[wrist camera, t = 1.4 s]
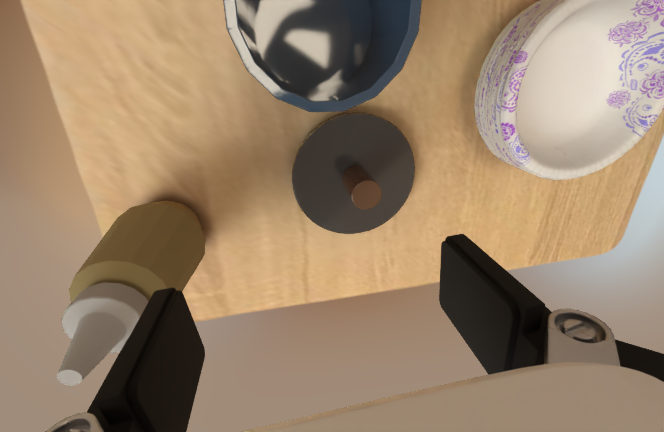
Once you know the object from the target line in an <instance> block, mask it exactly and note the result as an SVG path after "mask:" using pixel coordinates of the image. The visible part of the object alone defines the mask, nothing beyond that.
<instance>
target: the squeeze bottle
mask: <svg viewBox="0 0 664 432" xmlns="http://www.w3.org/2000/svg"><path fill="white" fill-rule="evenodd" d="M204 254H205V238H204V234H203V231H202V227H201V224H200V222H199V219H198V217H197V215H196V214H195V213H194V212H193V211H192V210H191V209H190V208H189V207H187V206H185V205H183V204H181V203H179V202H175V201H166V200H164V201H158V202H153V203H148V204H144V205H140V206H135V207H131V208H130V209H129V210H127V211H126V212H125V213H123V214H122V215H121V216H119V217H118V218H117V219H116V221H115V222H114V224H113V225H112V226H111V228H110V229H109V230H108V232H107V233H106V234H105V236H104V237H103V239H102V240H101V241H100V243H99V244H98V245H97V247H96V248H95V249H94V251H93V252H92V253H91V255H90V256H89V257H88V259H87V260H86V262H85V263H84V264H83V266H82V267H81V268H80V270H79V271H78V272H77V274H76V275H75V277H74V279H73V282H72V284H71V286H70V288H69V293H70V300H71V304H70V305H69V306H68V307H67V308H66V310H65V313H64V315H63V317H62V324H63V330H64V332H65V333H66V334H67V335H68V337H69V338H70V339H71V343H70V345H69V348H68V350H67V353H66V355H65V358H64V360H63V363H62V365H61V367H60V369H59V372H58V374H57V379H58V380H59V381H60V382H61V383H63V384H66V385H76V384H79V383H80V382H81V381H82V380H83V379H84V378H85V377H86V376H87V375H88V374H89V373H90V372H91V371H92V370H93V369H94V368H95V366H97V365H98V364H99V363H100V361H101V360H102V359H103V358H104V357H105V356H106V355H107V354H108V353H116V352H120V351H121V350H122V348H123V346H124V344H125V342H126V341H127V339H128V338H129V336H130V335H131V333H132V331H133V329H134V327H135V325H136V324H137V322H138V320H139V318H140V316H141V315H142V313H143V311H144V309H145V307H146V306H147V304H148V302H149V300H150V298H151V296H152V295H153V293H154V292H155V291H156V290H161V289H167V288H172V287H173V288H175V289H176V290H177V291H179V290H180V291H183V289H184V288H185V286H186V284H187V283H188V281H189V279H190V278H191V276H192V275H193V273H194V271H195V270H196V268H197V266H198V265H199V263H200V261H201V260H202V258H203V256H204Z"/></svg>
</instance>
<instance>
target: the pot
mask: <svg viewBox="0 0 664 432" xmlns="http://www.w3.org/2000/svg"><path fill="white" fill-rule="evenodd" d="M421 1H422V0H223V2H224V10H225V18H226V26H227V29H228V33H229V35H230V37H231V39H232V41H233V43H234V45H235V47H236V49H237V51H238V53H239V55H240V57H241V59H242V61H243V63H244V65H245V67H246V69H247V71H248V72H249V73H250V74H251V75H252V76H254V77H255V78H256V79H257V80H258V81H259V82H260V83H261V84H262V85H263V86H264V87H265V88H266V89H267V90H268V91H269V92H270V93H271V94H272V95H273V96H274V97H275V98H277V99H279V100H282V101H284V102H287V103H289V104H292V105H294V106H296V107H299V108H301V109H304V110H306V111H309V112H334V111H346V110H348V109H350V108H352V107H355V106H357V105H359V104H361V103H363V102H366V101H368V100H370V99H372V98H374V97H376V96H377V95H378V94H379V93H380V92H381V91H382V90H383V89H384V88H385V87H386V86H387V85H388V84H389V83H390V81H391V80H392V79H393V78H394V77H395V76H396V75H397V74H398V73H399V72H400V71H401V69H402V68H403V66H404V64H405V61H406V59H407V57H408V55H409V52H410V50H411V48H412V46H413V43H414V41H415V39H416V37H417V34H418V31H419V21H420V11H421Z"/></svg>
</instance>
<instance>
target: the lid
mask: <svg viewBox="0 0 664 432" xmlns="http://www.w3.org/2000/svg"><path fill="white" fill-rule="evenodd" d="M414 172H415V165H414V158H413V153H412V150H411V147H410V145H409V143H408V141H407V139H406V138H405V137H404V135H403V134H402V133H401V131H399V130H398V129H397V128H396V127H395V126H394V125H393V124H391V123H390V122H388V121H386V120H384V119H383V118H381V117H378V116H375V115H372V114H366V113H347V114H343V115H339V116H336V117H333V118H331V119H329V120H327V121H325V122H323V123H322V124H320V125H319V126H318V127H316V128H315V129H314V130H313V131H312V132H311V133H310V134H309V135H308V136H307V137H306V139H305V140H304V141H303V143H302V144H301V146H300V148H299V150H298V152H297V154H296V157H295V160H294V164H293V170H292V184H293V190H294V194H295V197H296V200H297V202H298V204H299V206H300V208H301V209H302V211H303V212H304V213H305V214H306V216H307V217H308V218H309V219H310V220H312V221H313V222H314V223H316V224H317V225H319V226H320V227H322V228H324V229H327V230H329V231H333V232H337V233H344V234H354V233H361V232H365V231H369V230H371V229H374V228H376V227H378V226H380V225H382V224H383V223H385V222H386V221H388V220H389V219H390V218H392V217H393V216H394V215H395V214H396V213H397V212H398V211H399V210H400V208H401V207H402V206H403V204H404V203H405V201H406V199H407V198H408V195H409V193H410V191H411V188H412V185H413V180H414Z"/></svg>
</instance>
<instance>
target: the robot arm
mask: <svg viewBox="0 0 664 432" xmlns="http://www.w3.org/2000/svg"><path fill="white" fill-rule="evenodd" d="M439 300H440V305H441V307H442V309H443V310H444V312H445V313H446V314H447V316H448V317H449V319H450V320H451V322H452V323H453V324H454V326H455V327H456V329H457V330H458V331H459V333H460V334H461V336H462V337H463V339H464V340H465V342H466V343H467V344H468V346H469V347H470V349H471V350H472V351H473V353H474V354H475V356H476V357H477V359H478V360H479V361H480V363H481V364H482V366H483V367H484V369H485V370H486V371H487V373H488V374H489V375H486V376H481V377H476V378H471V379H467V380H463V381H458V382H454V383H449V384H445V385H440V386H436V387H431V388H427V389H422V390H418V391H414V392H409V393H405V394H401V395H396V396H392V397H388V398H383V399H379V400H374V401H370V402H366V403H362V404H357V405H353V406H348V407H344V408H340V409H336V410H331V411H328V412H323V413H319V414H314V415H310V416H306V417H302V418H297V419H293V420H289V421H285V422H280V423H277V424H272V425H268V426H264V427H260V428H255V429H251V430H247V431H243V432H664V354H662V353H659V352H655V351H652V350H649V349H645V348H642V347H638V346H635V345H632V344H628V343H625V342H622V341H618V340H615V339H614V335H613V333H612V331H611V329H610V328H609V327H608V326H607V325H606V324H605V323H604V322H602V321H601V320H600V319H598V318H597V317H595V316H593V315H590V314H588V313H586V312H582V311H579V310H573V309H559V310H555V311H553V312H551V311H550V310H549V309H548V308H546V307H545V304H544V303H543V302H542V301H541V300H539V299H538V298H537V297H536V296H535V295H534V294H533V293H531V292H530V291H529V290H528V289H527V288H526V287H524V286H523V285H522V284H521V283H520V282H519V281H517V280H516V279H515V278H514V277H513V276H512V275H511V274H509V273H508V272H507V271H506V270H505V269H504V268H502V267H501V266H500V265H499V264H498V263H497V262H496V261H494V260H493V259H492V258H491V257H490V256H489V255H487V254H486V253H485V252H484V251H483V250H482V249H480V248H479V247H478V246H477V245H476V244H475V243H474V242H472V241H471V240H470V239H469V238H468V237H467V236H465V235H464V234H459V235H453V236H448V237H447V238H446V240H445V241H443V242H442V246H441V270H440V295H439ZM204 357H205V350H204V346H203V344H202V341H201V338H200V336H199V333H198V331H197V328H196V326H195V323H194V321H193V318H192V315H191V313H190V310H189V308H188V305H187V303H186V300H185V298H184V295H183V293H182V291H180V290H179V291H177V290H176V289H175V288H173V287H172V288H167V289H161V290H156V291H155V292H154V293H153V295H152V296H151V298H150V300H149V302H148V304H147V306H146V307H145V309H144V311H143V313H142V315H141V316H140V318H139V320H138V322H137V324H136V325H135V327H134V329H133V331H132V333H131V335H130V336H129V338H128V339H127V341H126V342H125V344H124V346H123V348H122V350H121V351H120V353H119V355H118V357H117V359H116V361H115V362H114V364H113V366H112V368H111V370H110V372H109V373H108V375H107V377H106V379H105V380H104V382H103V384H102V386H101V388H100V389H99V391H98V393H97V395H96V397H95V399H94V400H93V402H92V404H91V406H90V407H89V409H88V411H87V413H86V412H85V413H78V414H75V415H72V416H69V417H67V418H65V419H63V420H61V421H60V422H58V423H56V424H55V425H53V426H52V427H51V428H49V430H47V431H46V432H186V430H187V426H188V422H189V418H190V414H191V410H192V406H193V402H194V398H195V394H196V390H197V386H198V382H199V378H200V374H201V370H202V366H203V361H204Z"/></svg>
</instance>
